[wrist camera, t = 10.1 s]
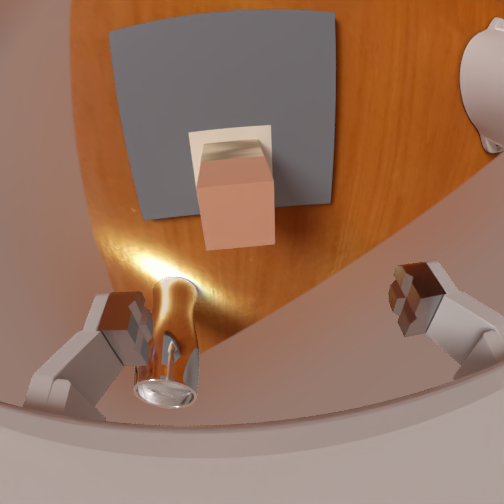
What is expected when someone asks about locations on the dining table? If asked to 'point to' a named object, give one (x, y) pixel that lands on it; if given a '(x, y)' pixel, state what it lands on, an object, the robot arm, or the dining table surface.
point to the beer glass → (171, 347)
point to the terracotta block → (236, 203)
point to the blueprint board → (227, 101)
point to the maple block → (231, 150)
